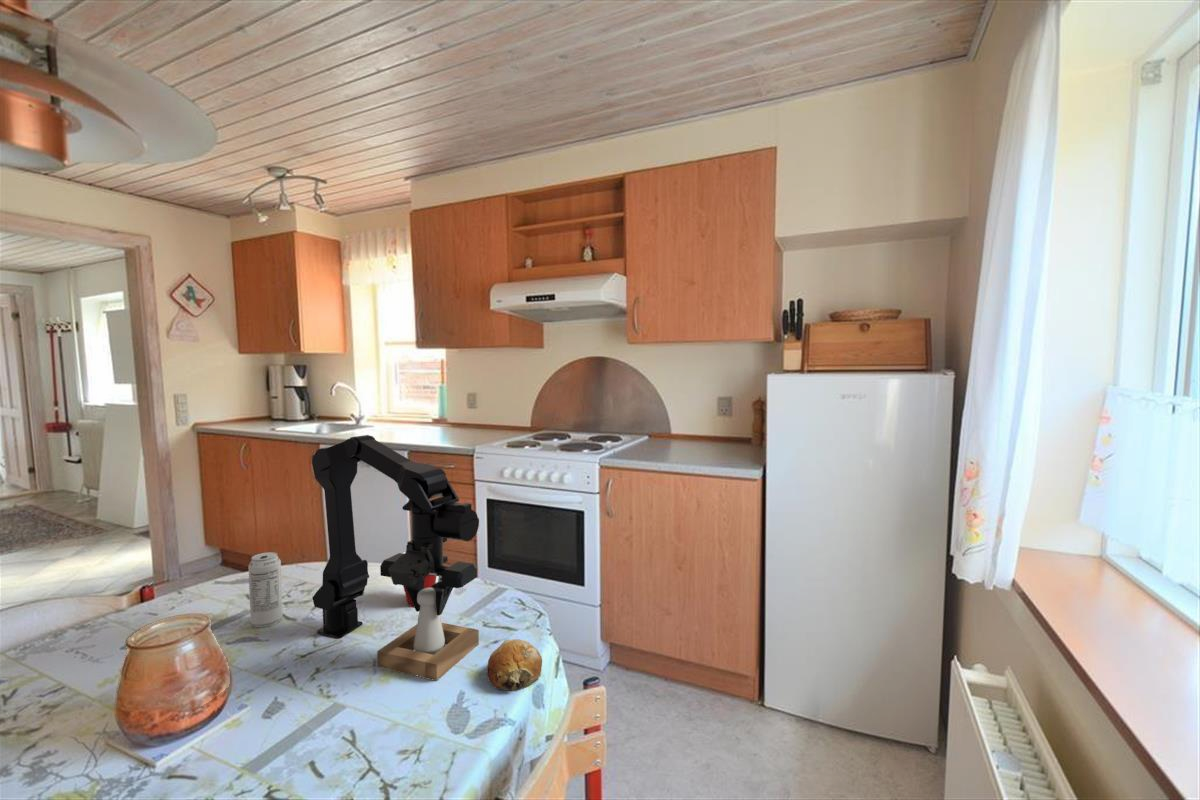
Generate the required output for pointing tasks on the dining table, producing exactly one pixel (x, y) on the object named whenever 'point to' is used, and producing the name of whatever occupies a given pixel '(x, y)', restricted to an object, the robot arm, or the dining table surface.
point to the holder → (423, 664)
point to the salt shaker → (428, 624)
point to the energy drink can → (265, 589)
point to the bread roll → (514, 665)
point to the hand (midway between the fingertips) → (429, 612)
